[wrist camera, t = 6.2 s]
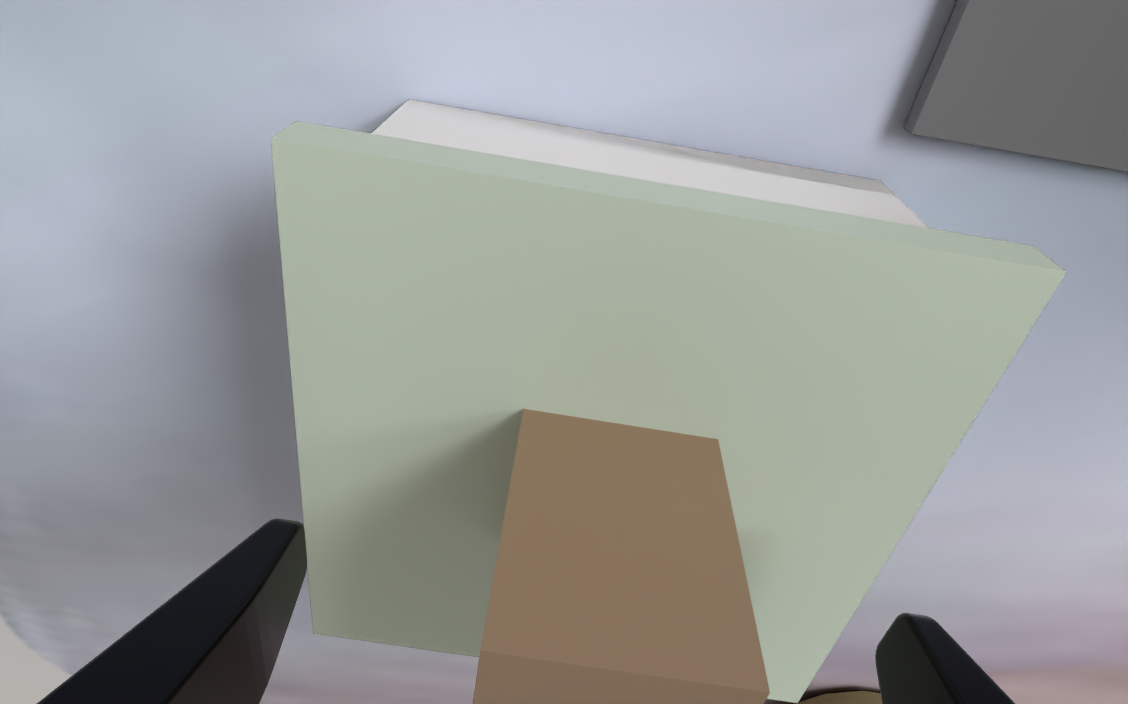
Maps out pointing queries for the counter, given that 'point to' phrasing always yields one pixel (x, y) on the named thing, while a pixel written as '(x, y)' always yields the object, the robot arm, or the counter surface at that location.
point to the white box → (645, 160)
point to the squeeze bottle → (846, 698)
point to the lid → (616, 412)
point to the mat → (1031, 80)
